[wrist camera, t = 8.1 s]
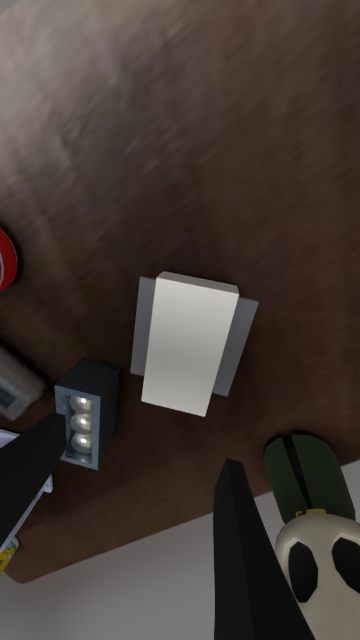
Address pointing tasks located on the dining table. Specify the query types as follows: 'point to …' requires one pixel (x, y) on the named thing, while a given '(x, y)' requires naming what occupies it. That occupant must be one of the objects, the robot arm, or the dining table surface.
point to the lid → (187, 340)
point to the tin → (88, 410)
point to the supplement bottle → (8, 553)
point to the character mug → (317, 535)
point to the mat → (232, 346)
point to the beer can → (7, 261)
